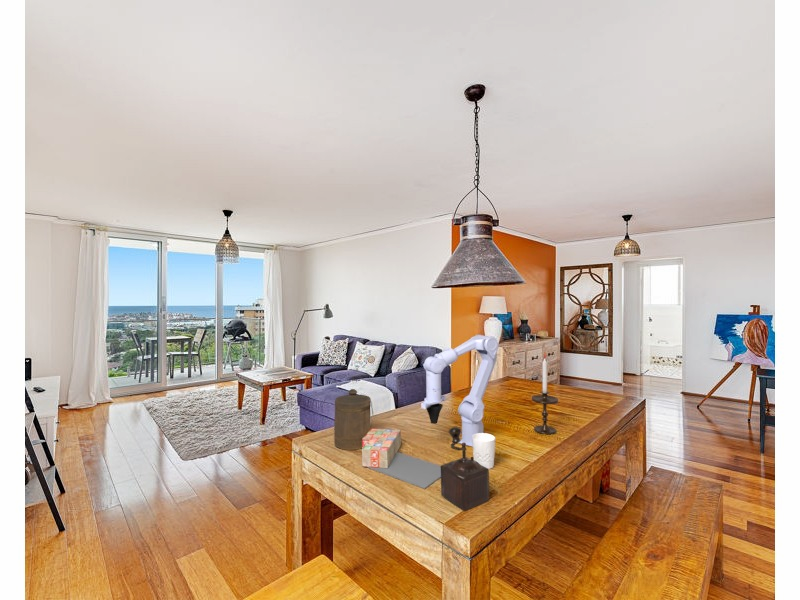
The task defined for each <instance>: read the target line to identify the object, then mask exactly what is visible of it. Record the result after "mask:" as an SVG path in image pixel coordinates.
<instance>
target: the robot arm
mask: <svg viewBox="0 0 800 600" xmlns="http://www.w3.org/2000/svg"><path fill="white" fill-rule="evenodd" d="M499 346H500V344H499V342H498V340H497V338H495V336H489V335H483V334H475V336H471V337H470V339H468V340H466V341H465V342H463V343H461V344H460V345H458V346H456V347H455V348H451V347H446V348H445V347H444V349H443V351H441V352H439V353H435V354H434V355H433V356H428V357H427V358H426V359H425V360H424V363H423V369H424V370H425V374H426V375H425V376H426V377H425V379H426V381H425V382H426V383H425V385H426V388H425V389H426V390H425V391H426V394H425V395H426V397H424V399H423V400H424V401H423V402H421V404H420V408H421V409H423V410H426V412H427V414H428V417H429V420H430V423H431V424H432V425H433V424H435V425H437V424H438V420H439V417H440V414H441V410H442V409H443V407H444V405H443V403H442V402H446V401H447V397H446V396H447V395H442V372H443V371H444V370H445V368H446V367H448V366H450V365H452V364H453V363H455V362H457V361H458V357H461V356H463V355H465V354H467V353H469V352H471V351H473V350H475V351H476V352H477V353H478V354H479V355H480V357H481V362H480V364H479V367H478V369H477V372H476V375H475V378H474V380H473V384H472V386H471V389H470V391H469V394H468V395H466V396H465V397H463V400H462V402H461V403H459V404H458V405H459V406H458V409H457V411H458V414H459V415H460V418H461V439H460V440H461V441H460V442H458V443H457V444H461V445H462V443H463V442H464V443H466V446H469V447H472V448H473V439H472V436H473V435H474V434H477V433H484V423H483V421H482V420H483V418H484V410H485V407H486V406H485V404H484V402H483V398H484V395H485V394H486V393H485V392H486V390H487V388H488V385H489V383H490V382H489V381H490V379H491V376H492V374H493V371H494V368H495V365H496V362H497V360H498V359H497V358H498V356H497V355H498V350H499Z"/></svg>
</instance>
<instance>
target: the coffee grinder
mask: <svg viewBox="0 0 800 600" xmlns="http://www.w3.org/2000/svg"><path fill="white" fill-rule="evenodd" d="M448 433H449V435H450V436H451V438H452V440H451V442H452V443H451V444H450V448H451V449H452V450H455V451H461V452H462V457H460V458H457V459H455V460H452V461H449V462H447V463H443V464H441V465H440V466H441V478H440V491H441V492H440V493H441V494H440V495H441V497H442V498H443V499H444V500H446V501H448V502H450V504H453V506H455V507H456V508H459V509H460V510H461V511H463V512H465V511H469V510H471V509H473V508H475V507H478V506H480V505H482V504H485V503H487V502H489V500H490V474H489V473H490V472H489V471H490V469H488V468H486V467H484V466H482V465H480V464H479V463H478V462H477V461H474V456H471V457H470V458H468V457H466V456H467V455H466V451H467V447H466V446H467V445H466V443H464V442H463V443H462V444H461V447H458V446H456V445H458V444H459V443H458V442H460V441H461V439H460V436H461V435H462V428H460V427H458V426H453V427H451V428H450V429H449V431H448Z"/></svg>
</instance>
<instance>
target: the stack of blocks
mask: <svg viewBox="0 0 800 600" xmlns="http://www.w3.org/2000/svg"><path fill="white" fill-rule="evenodd" d="M401 439H402V437H401V429H395V428H391V429H388V428H371V430H370V431H369V432H368V433H367V435H366V436H365V437H364V438H363V439H362V449H361V455H362V456H361V457H362V458H361V459H362V461H361V462H362V464H361V465H362V467H367V468H368V467H376V468H388V467H389V465H390V463H391V461H392V459H393V458H394V456H395V454H396V453H397V452H399V449H400V447H401V445H402V440H401Z"/></svg>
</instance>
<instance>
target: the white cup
mask: <svg viewBox="0 0 800 600" xmlns="http://www.w3.org/2000/svg"><path fill="white" fill-rule="evenodd" d="M472 439H473V447H472V452H473V453H472V454H473V456H472V457H473V458H474V459H473V460H474V461H477V462H478V463H479V464H480V465H482V466H484V467H486V468H488V469H489V470H491V469H493V468H494V466H495V454H496V453H495V452H496V437H495V436H494V434H493V435H492V434H491V433H487V432H483V433H477V434H474V435H473V436H472Z"/></svg>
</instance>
